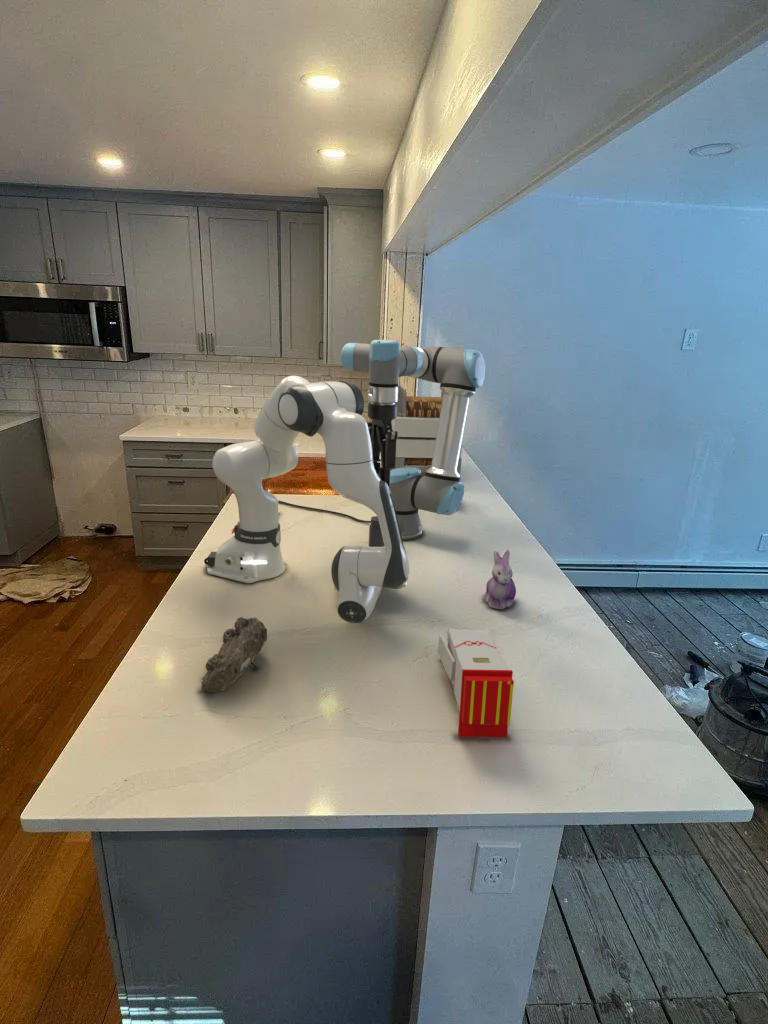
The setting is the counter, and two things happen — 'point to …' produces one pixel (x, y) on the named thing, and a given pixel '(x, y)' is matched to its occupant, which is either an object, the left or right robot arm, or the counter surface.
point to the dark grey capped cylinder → (375, 533)
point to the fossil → (234, 654)
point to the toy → (478, 682)
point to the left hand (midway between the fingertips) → (376, 562)
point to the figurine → (501, 583)
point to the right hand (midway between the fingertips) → (379, 488)
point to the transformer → (417, 429)
